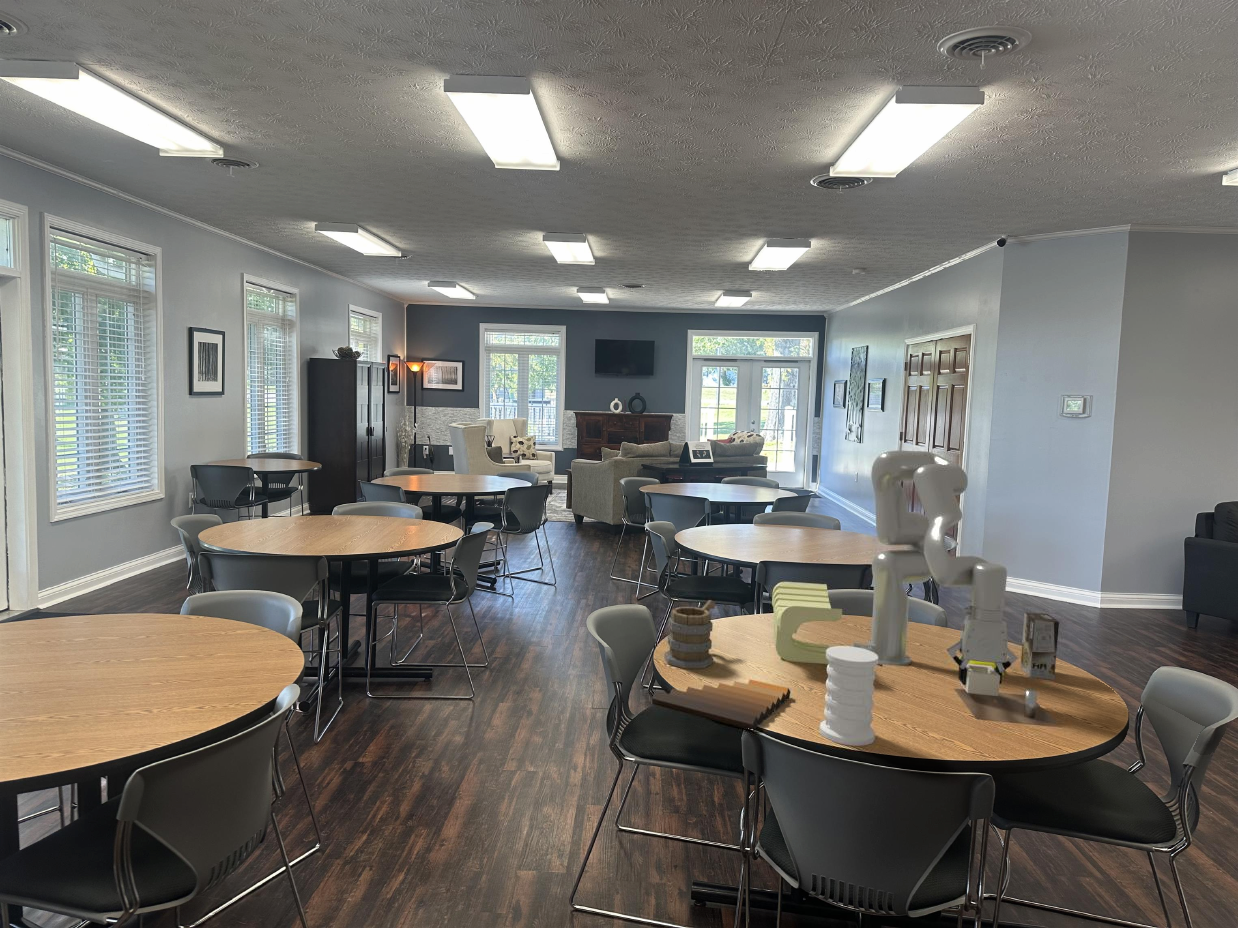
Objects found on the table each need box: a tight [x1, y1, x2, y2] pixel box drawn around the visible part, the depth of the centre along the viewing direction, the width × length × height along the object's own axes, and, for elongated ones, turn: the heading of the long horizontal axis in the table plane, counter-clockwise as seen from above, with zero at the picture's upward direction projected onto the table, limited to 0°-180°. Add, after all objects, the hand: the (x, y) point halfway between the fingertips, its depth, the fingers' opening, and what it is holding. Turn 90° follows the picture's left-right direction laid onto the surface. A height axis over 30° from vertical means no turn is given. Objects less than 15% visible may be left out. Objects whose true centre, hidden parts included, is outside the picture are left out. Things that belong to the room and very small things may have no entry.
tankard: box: [664, 599, 717, 670], centre depth 218 cm, size 20×13×15 cm, turn 143°
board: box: [953, 688, 1061, 728], centre depth 187 cm, size 18×20×2 cm
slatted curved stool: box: [771, 581, 843, 665], centre depth 225 cm, size 30×16×18 cm, turn 173°
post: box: [1024, 688, 1038, 718], centre depth 181 cm, size 2×2×6 cm
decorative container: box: [819, 645, 879, 747], centre depth 170 cm, size 12×12×18 cm
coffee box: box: [1020, 612, 1060, 681], centre depth 216 cm, size 9×6×16 cm
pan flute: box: [651, 679, 791, 731], centre depth 187 cm, size 25×3×25 cm
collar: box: [959, 664, 1000, 696], centre depth 192 cm, size 7×7×5 cm
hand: (979, 683), depth 192 cm, fingers closed on collar, 7 cm apart
